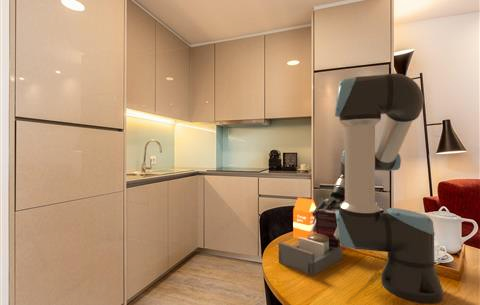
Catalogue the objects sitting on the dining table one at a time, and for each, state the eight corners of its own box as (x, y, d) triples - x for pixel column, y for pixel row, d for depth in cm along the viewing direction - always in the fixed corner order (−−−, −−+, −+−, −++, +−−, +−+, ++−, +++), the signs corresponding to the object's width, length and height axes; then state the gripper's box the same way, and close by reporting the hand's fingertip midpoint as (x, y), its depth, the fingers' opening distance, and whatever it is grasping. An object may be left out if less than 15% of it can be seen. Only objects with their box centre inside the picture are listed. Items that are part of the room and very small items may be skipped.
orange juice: (309, 244, 111) (308, 200, 112) (293, 239, 118) (292, 198, 118) (318, 240, 117) (317, 198, 117) (302, 236, 123) (302, 196, 124)
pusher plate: (324, 263, 88) (324, 244, 88) (322, 264, 87) (322, 244, 88) (300, 254, 96) (300, 237, 96) (298, 255, 95) (298, 237, 95)
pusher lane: (342, 260, 93) (342, 240, 94) (312, 279, 80) (311, 254, 80) (310, 250, 104) (310, 231, 104) (278, 264, 90) (278, 243, 90)
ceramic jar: (333, 257, 95) (333, 236, 95) (322, 263, 89) (322, 241, 89) (314, 251, 101) (314, 232, 101) (303, 256, 95) (303, 236, 96)
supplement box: (340, 249, 100) (339, 210, 100) (338, 253, 96) (337, 213, 96) (318, 245, 105) (318, 208, 105) (315, 249, 100) (315, 210, 101)
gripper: (370, 199, 102) (354, 246, 92) (322, 193, 119) (304, 233, 108) (365, 188, 99) (347, 235, 88) (316, 183, 115) (297, 223, 105)
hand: (323, 234), depth 98 cm, fingers closed on supplement box, 9 cm apart
